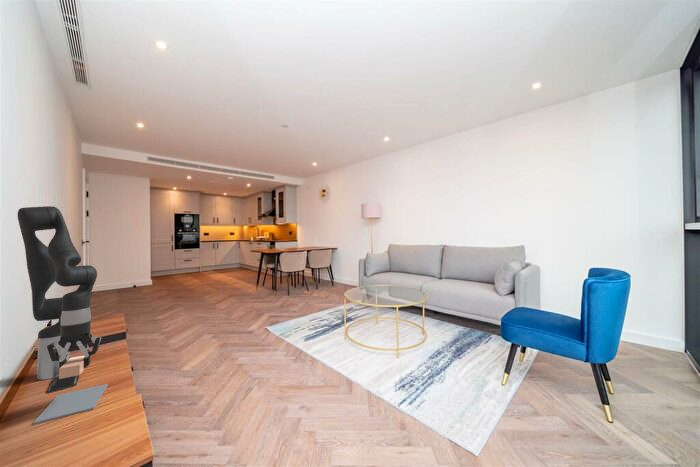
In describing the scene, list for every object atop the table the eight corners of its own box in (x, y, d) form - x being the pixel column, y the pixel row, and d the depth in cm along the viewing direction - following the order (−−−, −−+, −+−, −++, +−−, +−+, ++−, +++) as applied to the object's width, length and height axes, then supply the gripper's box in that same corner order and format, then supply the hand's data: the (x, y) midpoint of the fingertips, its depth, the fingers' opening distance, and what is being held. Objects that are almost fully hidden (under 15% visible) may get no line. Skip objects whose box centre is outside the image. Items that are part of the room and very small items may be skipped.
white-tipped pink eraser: (79, 375, 91) (79, 364, 91) (59, 379, 89) (59, 368, 89) (89, 363, 100) (89, 354, 100) (70, 367, 97) (71, 357, 97)
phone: (80, 370, 116) (76, 384, 105) (80, 373, 116) (76, 386, 105) (53, 377, 111) (46, 391, 100) (53, 380, 111) (46, 394, 100)
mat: (58, 396, 98) (58, 394, 98) (107, 385, 105) (107, 383, 105) (33, 424, 83) (33, 422, 83) (93, 409, 90) (93, 407, 90)
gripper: (41, 327, 88) (40, 379, 87) (99, 320, 95) (98, 368, 95) (52, 322, 94) (51, 370, 94) (105, 315, 102) (104, 360, 101)
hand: (75, 368), depth 94 cm, fingers closed on white-tipped pink eraser, 5 cm apart
